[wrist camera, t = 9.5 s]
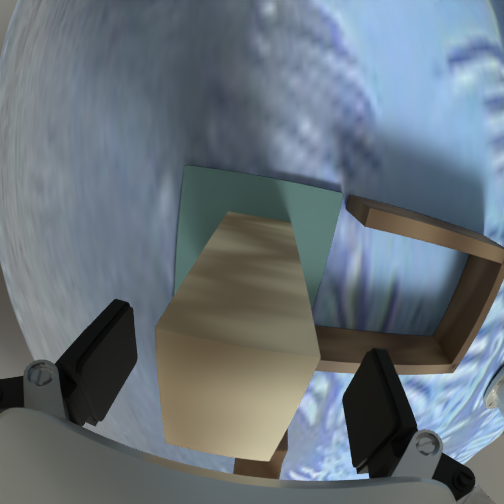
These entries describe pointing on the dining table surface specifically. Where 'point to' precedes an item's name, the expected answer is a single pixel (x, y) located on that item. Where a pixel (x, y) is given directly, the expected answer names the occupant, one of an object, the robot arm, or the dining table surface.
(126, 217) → the dining table surface
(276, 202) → the mat
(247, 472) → the wooden block
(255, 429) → the birch block
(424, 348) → the crate
